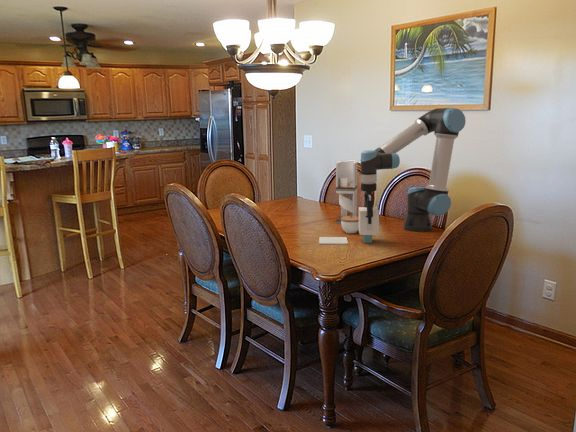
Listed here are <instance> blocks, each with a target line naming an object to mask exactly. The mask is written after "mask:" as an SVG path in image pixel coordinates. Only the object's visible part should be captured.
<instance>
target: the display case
mask: <svg viewBox="0 0 576 432" xmlns="http://www.w3.org/2000/svg"><path fill="white" fill-rule="evenodd" d="M358 169H359V168H358V160H357V161H349V160H348V161H344V160H339V161H337V162H336V163H335V193H336V194H338V203H339V206H340V215H339V216H337V218H336V219H335V224H339V225H341V217H344V216H350V215H352V216H357V215H358ZM357 217H358V216H357Z"/></svg>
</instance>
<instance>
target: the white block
mask: <svg viewBox="0 0 576 432" xmlns="http://www.w3.org/2000/svg"><path fill="white" fill-rule="evenodd" d="M366 216H367V207H365V206H362V207H360V206H358V217H359V230H358V234H359V235H360V236H363V235H372V236H373V235H374V236H377V235H378V236H379V230H380V227H379V226H380V210H379V208H378V207H377V206H373V217H372V230H367V217H366Z"/></svg>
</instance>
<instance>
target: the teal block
mask: <svg viewBox="0 0 576 432" xmlns="http://www.w3.org/2000/svg"><path fill="white" fill-rule="evenodd" d="M362 241H363V243H365V244H366V243H373V235H362Z"/></svg>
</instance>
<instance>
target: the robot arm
mask: <svg viewBox="0 0 576 432" xmlns="http://www.w3.org/2000/svg"><path fill="white" fill-rule="evenodd" d="M466 123H467V121H466V115H465V114H464V112H463V111H462V110H461V109H459V108H455V107H443V108H442V107H441V108H439V107H438V108H434V109H431V110H429V111H428V112H427V111H426V113H424V114H423V115H421V116H419V118H418V117H417V119H415V120H414V123H413V124H411V125H409V126H408V127H407V128H405V129H403V131H401V132H400V133H398V134H397V135H395V136H393V137H392V138H391V139H389V140H387V141H386V142H384V143H383V144H382V145H380V146H378V147H377V148H376V149H374V150H373V149H371V150H362V151H361V153H360V175H359V179H360V182H361V183H360V191H361V192H364V193H363V199H364V207H367V216H366V217H367V230H372V217H373V207H374V206H373V203H374V200H373V199H374V195H373V192H376V191H377V186H378V185H377V181H378V180H377V177H378V175H377V174H378V173H377V172H378V171H379V170H393V169H398V167H399V165H400V163H401V160H400V159H401V158H400V155H399V154H398V152H401V150H403V149H404V148H406V147H407V146H409V145H411V144H412V143H413V142H414V141H416V140H418V139H419V138H421V137H422V136H427V135H429V134H430V133H433V135H434V136H435V138H436V139H435V145H434V150H433V151H434V152H433V158H432V162H431V170H430V175H429V182H428V185H426V186H414V187H413V186H412V187H409V188H408V191H407V210H406V211H407V213H406V217H405V219H404V222H403V226H402V227H403V228H402V229H404V230H407V231H412V232H429V231H431V230H432V229H433V224H432V221H431V217H430V215H431V216H437V217H441V216H444V215H446V213H448V211H449V210H450V208H451V206H452V199H451V197H450V196H449V189H448V187H447V183H448V177H449V173H450V167H451V161H452V154H453V150H454V149H453V148H454V143H455V140H456V139H457V138H458V137H459V135H460V133H459V132H461V131H462V130H463V129H464V128H465V126H466Z"/></svg>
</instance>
